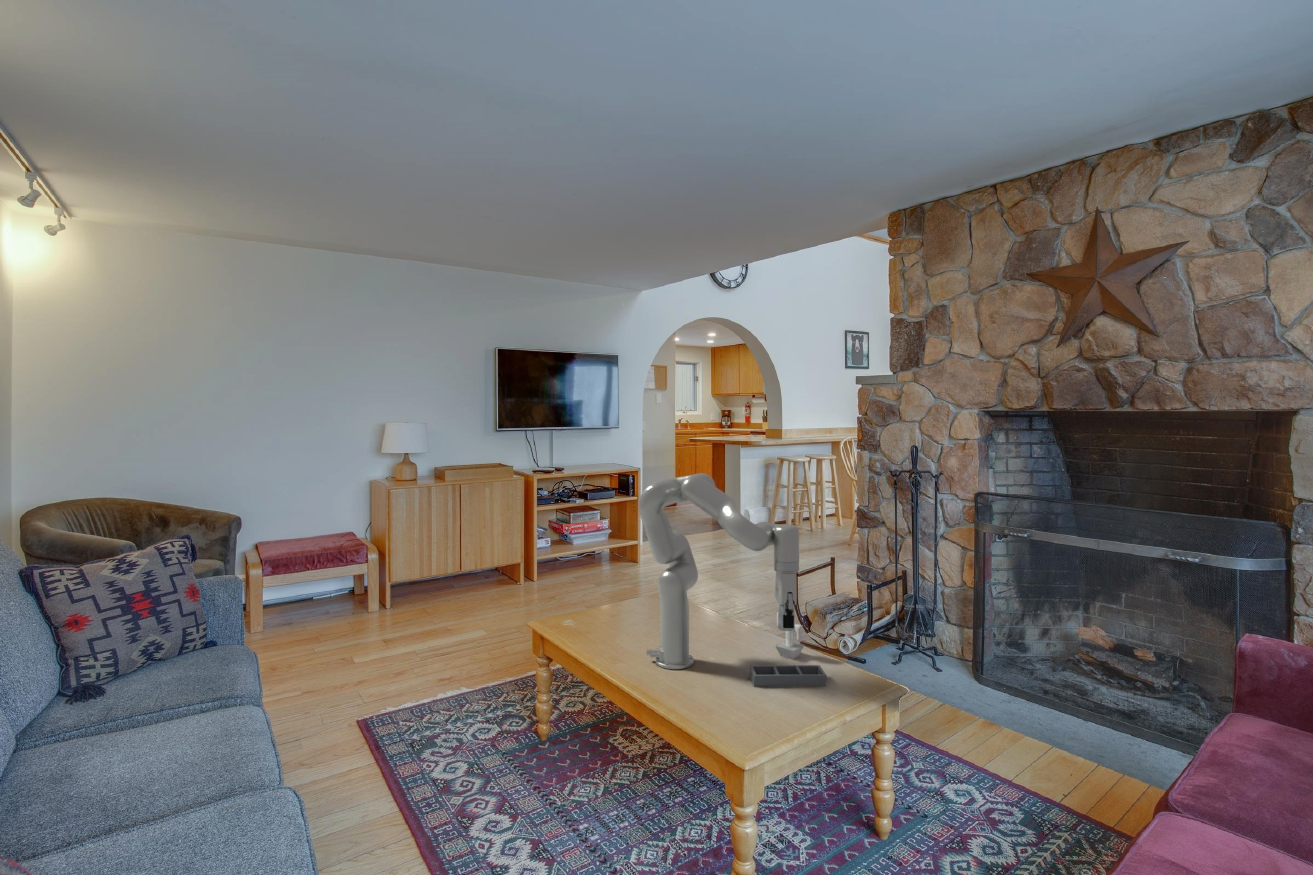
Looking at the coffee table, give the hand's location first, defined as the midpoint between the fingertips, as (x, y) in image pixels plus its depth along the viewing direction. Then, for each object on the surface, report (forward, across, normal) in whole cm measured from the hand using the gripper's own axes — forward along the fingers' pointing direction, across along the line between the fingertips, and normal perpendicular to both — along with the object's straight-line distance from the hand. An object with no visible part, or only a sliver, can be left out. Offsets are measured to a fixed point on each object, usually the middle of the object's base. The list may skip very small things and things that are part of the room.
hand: (786, 624), depth 197 cm
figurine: (+18, -20, +5) cm, 27 cm away
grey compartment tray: (+18, 0, 0) cm, 18 cm away
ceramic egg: (+1, 0, 0) cm, 1 cm away
